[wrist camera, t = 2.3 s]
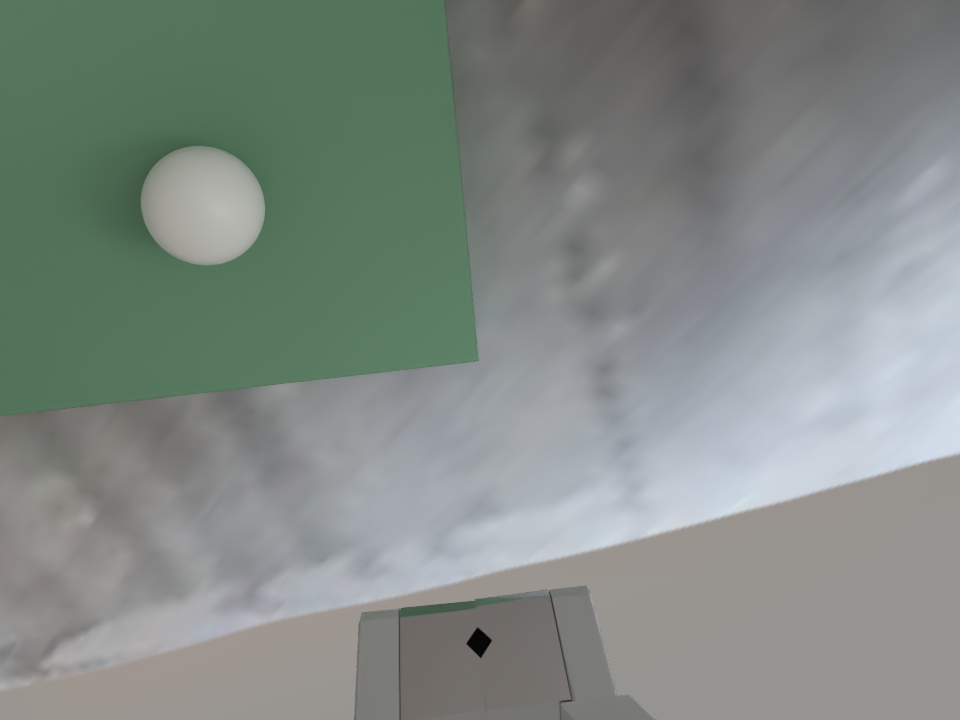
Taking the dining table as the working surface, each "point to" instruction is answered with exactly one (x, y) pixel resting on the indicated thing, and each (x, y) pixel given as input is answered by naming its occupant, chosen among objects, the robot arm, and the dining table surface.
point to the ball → (202, 205)
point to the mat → (276, 165)
